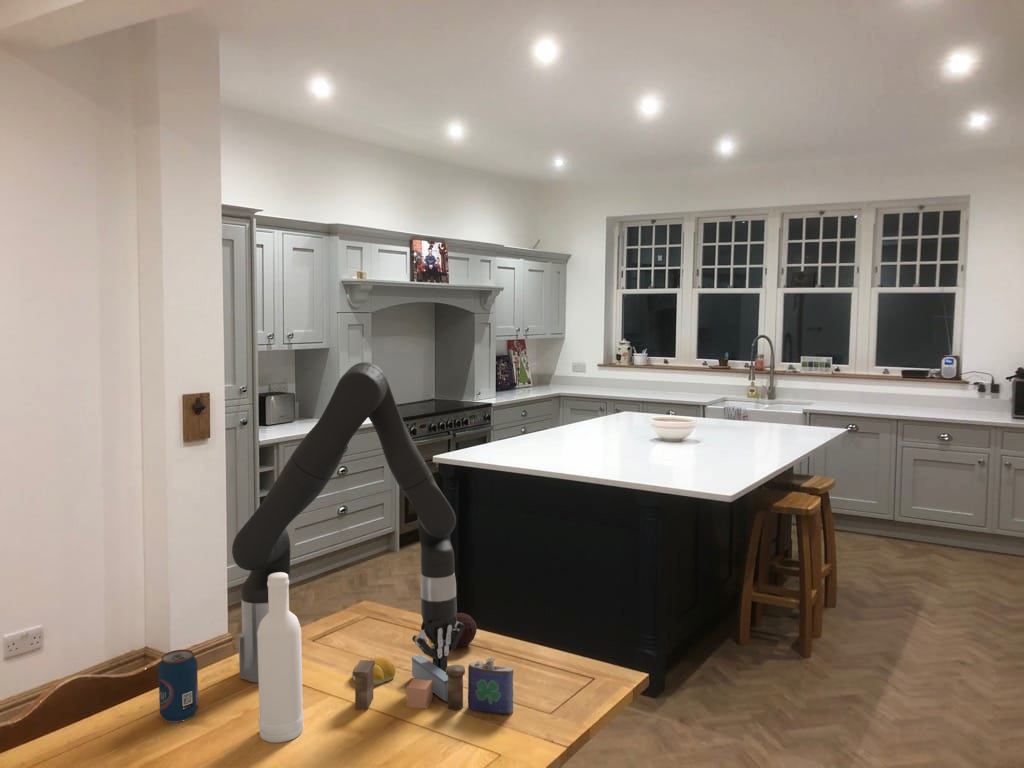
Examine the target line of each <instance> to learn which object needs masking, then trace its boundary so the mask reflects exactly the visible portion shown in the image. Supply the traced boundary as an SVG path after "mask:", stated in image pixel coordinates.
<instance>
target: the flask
mask: <svg viewBox="0 0 1024 768" xmlns="http://www.w3.org/2000/svg"><path fill="white" fill-rule="evenodd" d="M495 660H496V659H495V657H492V656H491V657H488V658H486V662H485V663H483V662H481V661H480V660H477V661H475V662H474V661H473V662H470V663H469V664H468V668H467V672H468V673H467V674H468V677H467V679H468V681H467V682H468V683H467V684H468V685H467V686H468V687H467V688H468V689H467V707H468V710H469V711H471V712H475V713H479V714H489V715H495V716H496V715H498V716H511V715H512V714H513V712H514V669H513V667H512V666H507V665H506V666H503V665H501V666H500V665H495V664H494V661H495Z"/></svg>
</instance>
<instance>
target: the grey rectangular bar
mask: <svg viewBox="0 0 1024 768" xmlns="http://www.w3.org/2000/svg"><path fill="white" fill-rule="evenodd" d="M411 669H412V670H411V673H412V674H411V675H412V677H414V678H413V679H422V680H431V681H432V693H434V694H435V695H436V696H437V697H438V698H440V699H441V700H442V701H444V702H447V703H448V675H446V672H444V671H443V670H441V669H440V668H439V667H437V666H436V665H434V664H433V661H431V660H430V659H428V658H426V657H424V655H422V654H418V655H415V656H412V657H411Z"/></svg>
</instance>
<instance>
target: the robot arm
mask: <svg viewBox="0 0 1024 768" xmlns="http://www.w3.org/2000/svg"><path fill="white" fill-rule="evenodd" d="M337 382H338V383H337V385H336V387H335V389H334V391H333V393H332V396H331V397H330V399H329V401H328V403H327V405H326V407H325V409H324V411H323V413H322V415H321V417H320V418H319V419H318V421H317V422H316V424H315V425H314V426H313V427H312V428H311V429H310V431H309V432H308V433H307V434H306V435H305V436H304V437H303V438H302V440H301V442H300V443H299V444H298V445H297V447H296V448H295V450H294V451H293V453H291V456H290V458H289V459H288V460H287V462H286V463H285V465H284V467H283V468H282V470H281V472H280V473H279V475H278V477H277V478H276V480H275V481H274V483H273V484H272V485H271V487H270V489H269V491H268V492H267V494H266V496H265V497H264V499H263V501H262V502H261V503H260V505H259V506H258V508H257V509H256V510H255V512H254V513H253V514H252V515H251V516H250V517H249V519H248V520H247V521H246V523H244V525H243V526H242V527H241V528H240V530H239V531H238V532H237V534H236V535H235V537H234V540H233V542H232V547H231V551H232V553H231V554H232V555H231V556H232V559H233V561H234V563H235V564H236V566H238V567H239V568H240V569H242V570H245V571H250V573H249V575H248V576H247V578H246V580H245V581H244V582H243V584H242V586H241V588H240V589H241V591H240V592H241V593H240V594H241V595H240V597H241V628H242V629H241V633H240V634H238V635H239V636H238V657H239V658H238V661H239V664H238V665H239V666H238V667H239V679H240V680H242V679H243V680H245V681H248V682H251V683H258V684H259V678H258V637H257V632H258V628H259V625H260V622H261V620H262V619H263V618H264V617H265V616H266V615H267V614H268V613H269V602H268V586H267V582H268V576H269V575H270V574H272V573H277V572H283V573H286V574H288V579H289V580H290V577H291V576H290V575H291V541H290V536H289V535H290V534H289V532H288V530H287V527H288V526H289V524H291V523H292V522H293V520H295V519H296V518H297V517H298V516H299V515H300V514H301V513H303V511H305V510H306V508H308V507H309V506H310V505H311V504H312V503H313V502H314V500H316V499H317V498H318V497H319V495H320V494H321V492H323V490H324V488H325V487H326V486H327V485H328V483H329V482H330V480H331V478H332V477H333V475H334V474H335V472H336V470H337V468H338V466H339V464H340V463H341V461H342V459H343V456H344V454H345V451H346V449H347V447H348V445H349V443H350V441H351V439H352V438H353V437H354V435H355V434H356V433H357V431H358V430H359V429H360V428H361V426H362V425H363V424H364V423H365V421H366V420H367V419H369V420H370V422H371V424H372V426H373V427H374V430H375V432H376V434H377V437H378V439H379V442H380V445H381V448H382V452H383V454H384V458H385V461H386V463H387V467H388V468H389V470H390V472H391V474H392V476H393V477H394V480H395V481H396V483H397V485H398V486H399V488H400V490H401V491H402V493H403V494H404V496H405V497H406V498H407V500H408V501H409V502H410V503H411V505H412V507H413V509H414V511H415V513H416V515H417V527H418V537H419V542H420V543H419V544H420V548H421V549H420V551H421V553H420V554H421V556H420V563H421V564H420V568H421V573H420V574H421V575H420V578H421V579H420V615H421V617H422V618H421V619H422V623H421V626H420V632H419V633H418V635H415V634H414V635H413V636H412V638H411V640H412V641H413V643H414V644H415V645H416V647H418V648H419V649H420V650H421V651H422V652H423V654H424V655H426V656H428V657H430V658H432V663H433V664H434V665H436V666H437V667H439V668H440V669H441V670H443V671H444V672H446V667H448V655H449V653H450V652H451V651H455V649H456V648H457V647H456V646H457V644H458V642H459V640H460V638H461V636H462V634H463V632H464V630H465V627H466V626H465V625H464V624H463V623H460V622H458V621H457V617H456V616H455V615H456V613H458V612H457V611H458V610H457V609H458V608H457V605H458V604H457V602H458V601H457V581H456V574H455V573H456V572H455V570H456V569H455V566H456V565H455V551H454V548H453V545H452V542H451V534H452V533H453V531H454V530H455V527H456V525H457V516H456V513H455V511H454V509H453V507H452V506H451V504H450V502H449V500H448V499H447V498H446V496H445V494H443V493H444V492H442V490H441V489H440V487H439V486H438V485H437V482H436V481H435V477H434V476H433V473H432V471H431V470H430V468H429V467H428V465H427V463H426V460H425V459H424V458H423V456H422V454H421V452H420V451H419V449H418V447H417V445H416V444H415V442H414V440H413V438H412V436H411V433H410V432H409V430H408V428H407V426H406V424H405V421H404V419H403V418H402V415H401V413H400V410H399V409H398V408H399V407H398V406H397V403H396V400H395V398H394V395H393V392H392V389H391V387H390V383H389V381H388V378H387V375H386V374H385V373H384V371H383V370H382V368H380V367H379V366H378V365H376V364H374V363H372V362H368V361H364V362H358V363H355V364H354V365H352V366H351V367H350V368H349V369H348V370H347V371H346V372H345V373H344V374H343V375H342V376H341V377H340V378H339V381H337ZM453 638H454V639H453ZM427 639H428V640H427ZM452 640H453V641H452ZM451 642H452V643H451Z"/></svg>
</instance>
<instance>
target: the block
mask: <svg viewBox="0 0 1024 768" xmlns="http://www.w3.org/2000/svg"><path fill="white" fill-rule="evenodd" d="M432 701H433V692H432V681H431V680H422V679H416V678H413V679H412V680H411V681H410V683H408V685H407V686H406V707H409V708H417V707H418V708H419V709H425V708H426V707H429V705H430V704H431V702H432ZM418 708H417V709H418ZM426 709H427V708H426Z"/></svg>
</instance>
